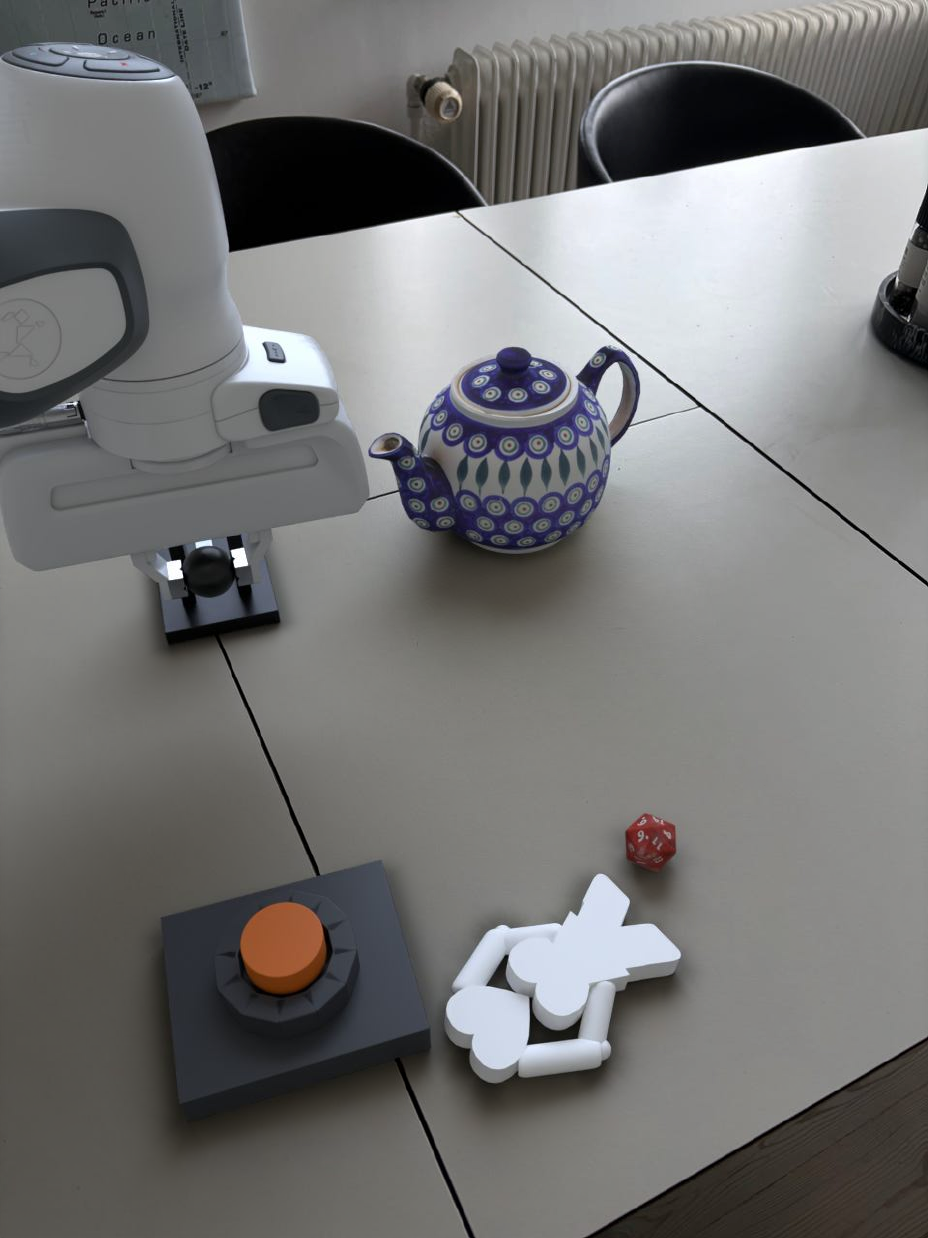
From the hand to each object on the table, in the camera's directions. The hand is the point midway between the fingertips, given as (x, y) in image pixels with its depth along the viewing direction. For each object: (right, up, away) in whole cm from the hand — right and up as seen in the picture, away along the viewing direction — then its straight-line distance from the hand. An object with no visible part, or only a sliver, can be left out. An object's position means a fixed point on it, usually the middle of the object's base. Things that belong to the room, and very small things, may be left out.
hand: (213, 585), depth 62 cm
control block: (+7, -21, -10) cm, 25 cm away
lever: (-1, +3, +4) cm, 5 cm away
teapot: (+19, +6, +20) cm, 28 cm away
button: (+7, -19, -13) cm, 24 cm away
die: (+26, -16, -4) cm, 31 cm away
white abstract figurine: (+20, -22, -10) cm, 31 cm away
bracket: (-3, 0, +13) cm, 13 cm away
